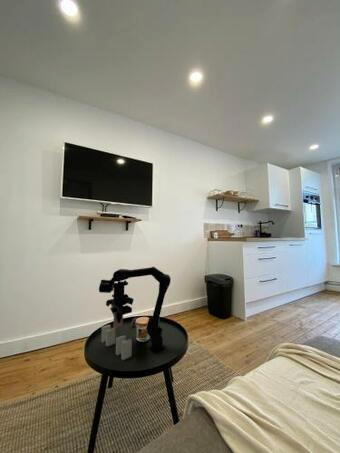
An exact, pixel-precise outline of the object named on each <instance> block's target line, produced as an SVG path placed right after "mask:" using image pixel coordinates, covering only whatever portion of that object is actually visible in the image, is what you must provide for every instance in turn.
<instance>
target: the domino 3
mask: <svg viewBox="0 0 340 453" xmlns="http://www.w3.org/2000/svg"><path fill="white" fill-rule="evenodd" d="M112 322H113V326H112V328H115V329H117V328H120V327H123V326H124V325H123V324H124V315H122V318H121V321H120V323H118V322H117V318H116V315H115V312H114V316H113V320H112Z"/></svg>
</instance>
